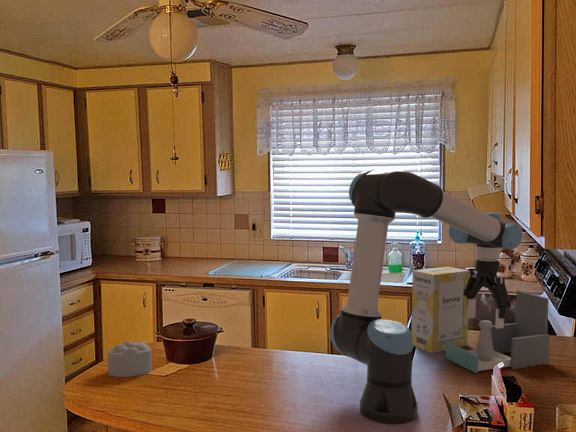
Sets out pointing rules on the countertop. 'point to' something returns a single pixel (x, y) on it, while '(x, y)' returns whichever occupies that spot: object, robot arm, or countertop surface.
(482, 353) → the salt shaker
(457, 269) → the pasta box
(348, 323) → the robot arm
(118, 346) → the lumpy-topped squat cylinder
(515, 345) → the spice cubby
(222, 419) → the countertop surface
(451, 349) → the tray
